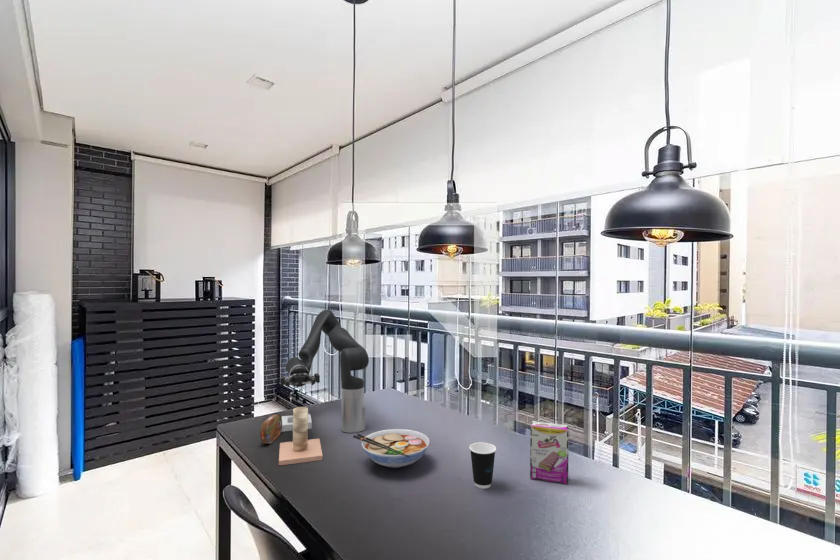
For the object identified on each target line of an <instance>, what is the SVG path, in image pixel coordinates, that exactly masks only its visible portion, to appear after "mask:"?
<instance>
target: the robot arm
mask: <svg viewBox="0 0 840 560" xmlns="http://www.w3.org/2000/svg"><path fill="white" fill-rule="evenodd" d="M322 332H323V333H324V334H325V335H326V336H327V337H328V341H329V343H330V344H331V346H332V347H333V348H334V350H336V351H337V352H339V353H340V357H339V363H340V364H339V365H340V384H341V387H340V388H341V390H340V393H341V396H340V397H341V398H340V399H341V401H340V404H341V406H340V407H341V409H340V411H341V412H340V415H341V422H340V424H341V425H340V426H341V431H342V432H344V433H347V434H348V433H349V434H353V433H354V434H355V433H359V432H361V431H366V406H365V381H364V379H363V378H361V377H357V376H353V375H352V372H355V371H361V370H364V369H366V368H367V367H368V365H369V362H370V359H369V354H368V352H367V350H366V349H365V348H364V346H362V345H361V344H359V342H357V341H356V340H355V339H354V337H352V335H351V334H350V333H349V331H348V330H347V329H346V328H344V327H342V326H341V323H340V321H339V320H338V318H337V316H336V315H335V314H334V313H333V311H332V310H331V309H324V310H321V311H320V312H319V313H318V314H317V316H316V317H315V319H314V321H313V324H312V327H311V329H310V332H309V334H308V336H307V339H306V340H305V342H303V343H304V344H303V345H302V347H301V348H300V350H299V351H298V353H297V354H298V357H296V356H293V357H291V358H290V359H288V360H287V362H286V365H285V371H286V373H288V374H289V375H288V377H286V376H285V375H281V376H280V378H279V386H281V387H283V386H285V387H287V388H290V386H295V387H298V388H299V387H304V386H306V385H311V386H315V385H316V383H317V384H319V383H321V379H320V378H321V375H320V374H319V373H317V372H316V373H314V374H313V375H312V374H311V369H312V365H313V364H312V363H313V361H314V358H315V357H316V355H317V354H318V351H319V349H320V347H321V338H322ZM314 384H315V385H314Z"/></svg>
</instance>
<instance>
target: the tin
mask: <svg viewBox="0 0 840 560" xmlns="http://www.w3.org/2000/svg"><path fill="white" fill-rule="evenodd" d="M281 430H282V416H281V415H280V414H271V415H270V416H269V417H268V418H267V419H265V420H264V421H263V422H262V424H261V426H260V431H259V432H260V441H261V444H264V445H267V444H268V445H269V444H270V445H271V444H273V442H274V441H275V440H276V439H277V438H278V437H279V436H281V434H282V432H281Z"/></svg>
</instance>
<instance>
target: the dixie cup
mask: <svg viewBox="0 0 840 560" xmlns="http://www.w3.org/2000/svg"><path fill="white" fill-rule="evenodd" d="M469 450H470V459H471V460H470V461H471V469H472V477H473V482H474V486H475V487H476V488H479V489H482V490H483V489H490V487H491V486H492V483H493V476H494V466H495V458H496V457H495V456H496V451H497V447H496V446H495V445H494V444H491V443H489V442H481V441H480V442H474V443H472V444H470V445H469Z"/></svg>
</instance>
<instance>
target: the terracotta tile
mask: <svg viewBox="0 0 840 560" xmlns="http://www.w3.org/2000/svg"><path fill="white" fill-rule="evenodd" d="M278 452H279V453H278V455H279V456H278V466H279V465H280V466H286V465H293V464H294V465H295V464H301V463H309V462H315V461H323V458H324V457H323V451H322V444H321V440H320V438H313V439H312V438H311V439H308V448H307V450H305V451H301V452H295V451H293V440H292V441H284V442H283V441H282V442H280V443H279V451H278Z"/></svg>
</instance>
